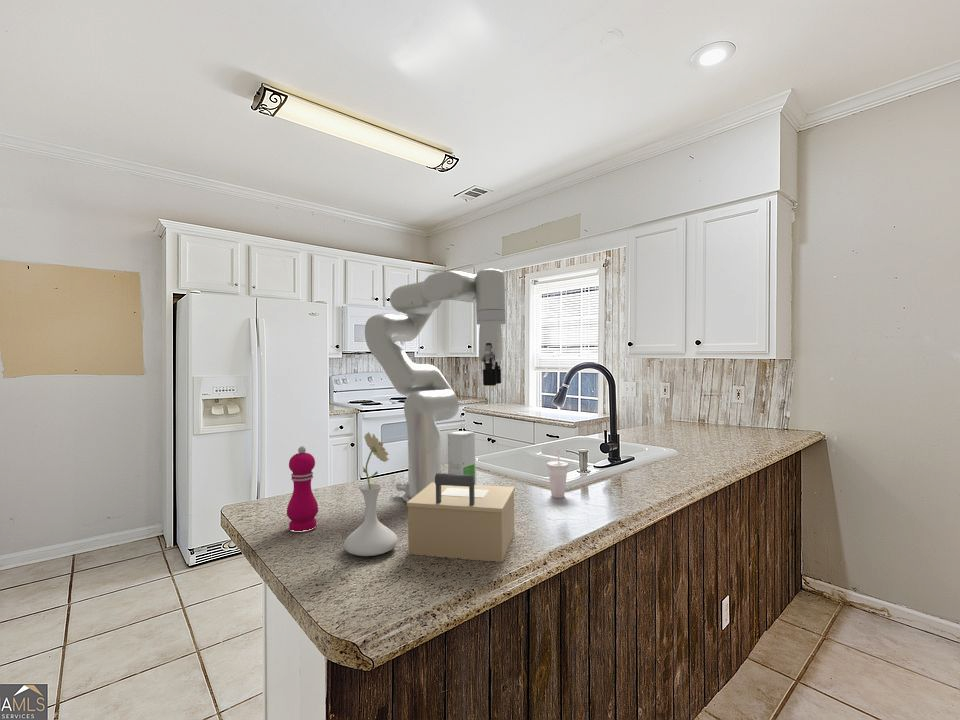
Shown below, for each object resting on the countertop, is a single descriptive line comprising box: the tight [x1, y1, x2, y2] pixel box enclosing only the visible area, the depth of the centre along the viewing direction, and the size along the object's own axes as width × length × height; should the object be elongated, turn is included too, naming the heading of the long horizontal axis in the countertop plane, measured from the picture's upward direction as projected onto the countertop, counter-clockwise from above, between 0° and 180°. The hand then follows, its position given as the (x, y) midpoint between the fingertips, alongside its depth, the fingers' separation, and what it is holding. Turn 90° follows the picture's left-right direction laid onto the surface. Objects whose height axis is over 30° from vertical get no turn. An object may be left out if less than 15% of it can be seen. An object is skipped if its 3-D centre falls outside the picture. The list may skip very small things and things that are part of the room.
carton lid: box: [406, 472, 516, 513], centre depth 104 cm, size 20×16×7 cm
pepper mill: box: [286, 446, 319, 531], centre depth 114 cm, size 7×7×20 cm
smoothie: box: [546, 447, 569, 499], centre depth 139 cm, size 6×6×14 cm
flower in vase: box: [343, 431, 399, 557], centre depth 102 cm, size 13×11×25 cm
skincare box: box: [447, 430, 476, 476], centre depth 162 cm, size 8×7×16 cm
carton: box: [407, 492, 515, 563], centre depth 104 cm, size 20×16×10 cm
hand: (492, 384), depth 121 cm, fingers open, 9 cm apart
